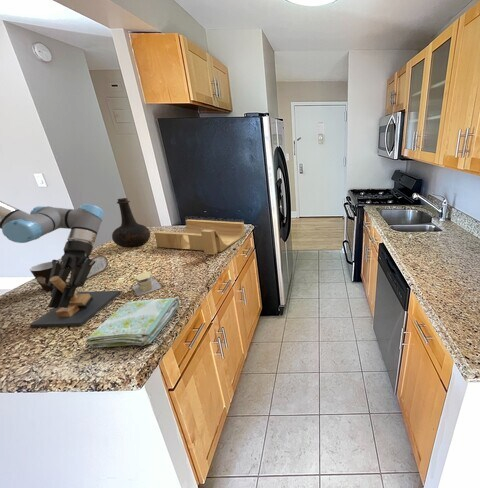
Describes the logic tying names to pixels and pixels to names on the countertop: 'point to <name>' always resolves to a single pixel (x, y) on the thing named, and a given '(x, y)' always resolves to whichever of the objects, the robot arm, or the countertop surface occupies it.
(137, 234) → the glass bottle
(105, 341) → the towel
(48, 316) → the serving tray
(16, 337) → the countertop surface
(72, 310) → the wooden square block
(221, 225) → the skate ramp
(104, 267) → the tin
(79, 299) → the scrub brush
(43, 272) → the coffee mug
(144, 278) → the stacked layers on plate
